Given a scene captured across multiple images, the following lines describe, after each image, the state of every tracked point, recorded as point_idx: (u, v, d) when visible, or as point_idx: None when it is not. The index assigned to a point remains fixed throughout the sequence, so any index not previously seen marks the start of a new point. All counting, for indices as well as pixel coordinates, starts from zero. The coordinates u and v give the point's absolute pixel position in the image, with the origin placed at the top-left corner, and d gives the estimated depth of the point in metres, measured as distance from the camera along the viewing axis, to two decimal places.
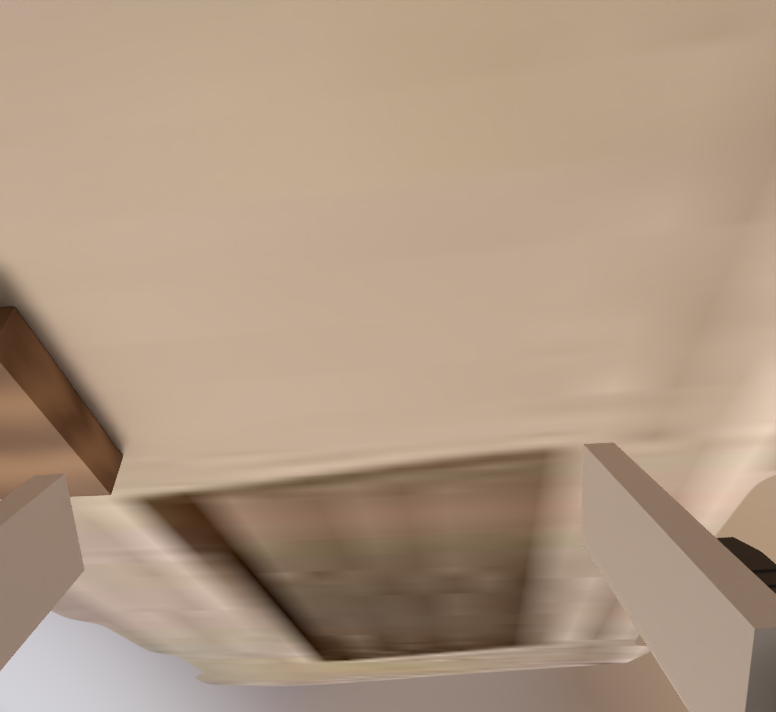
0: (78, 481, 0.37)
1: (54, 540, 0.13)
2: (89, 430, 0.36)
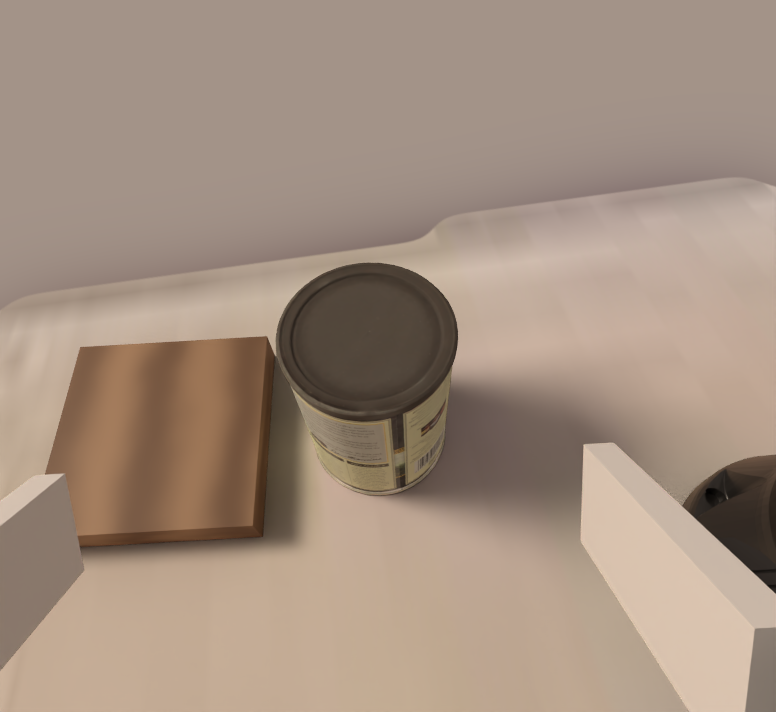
0: None
1: (54, 540, 0.13)
2: (115, 541, 0.39)
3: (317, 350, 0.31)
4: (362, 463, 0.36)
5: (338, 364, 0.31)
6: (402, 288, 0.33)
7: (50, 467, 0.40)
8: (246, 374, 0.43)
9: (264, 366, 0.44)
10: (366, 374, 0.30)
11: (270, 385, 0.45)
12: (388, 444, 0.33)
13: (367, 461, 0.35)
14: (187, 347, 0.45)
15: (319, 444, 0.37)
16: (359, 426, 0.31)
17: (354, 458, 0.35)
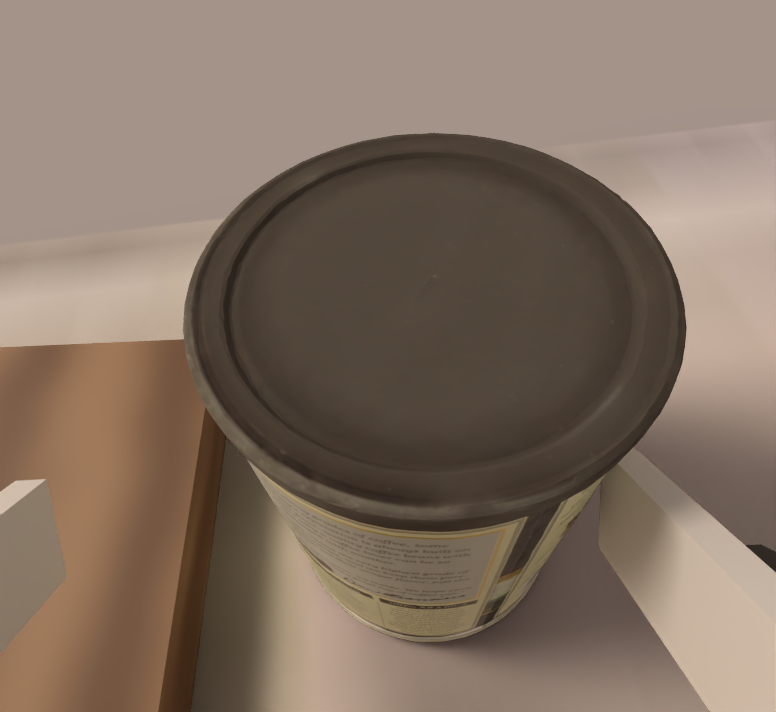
0: None
1: (35, 547, 0.13)
2: None
3: (299, 332, 0.11)
4: (418, 605, 0.15)
5: (359, 364, 0.11)
6: (499, 179, 0.14)
7: None
8: (171, 409, 0.23)
9: None
10: (444, 389, 0.10)
11: None
12: (493, 569, 0.13)
13: (431, 601, 0.15)
14: (70, 356, 0.25)
15: (314, 560, 0.16)
16: (432, 542, 0.10)
17: (400, 596, 0.15)
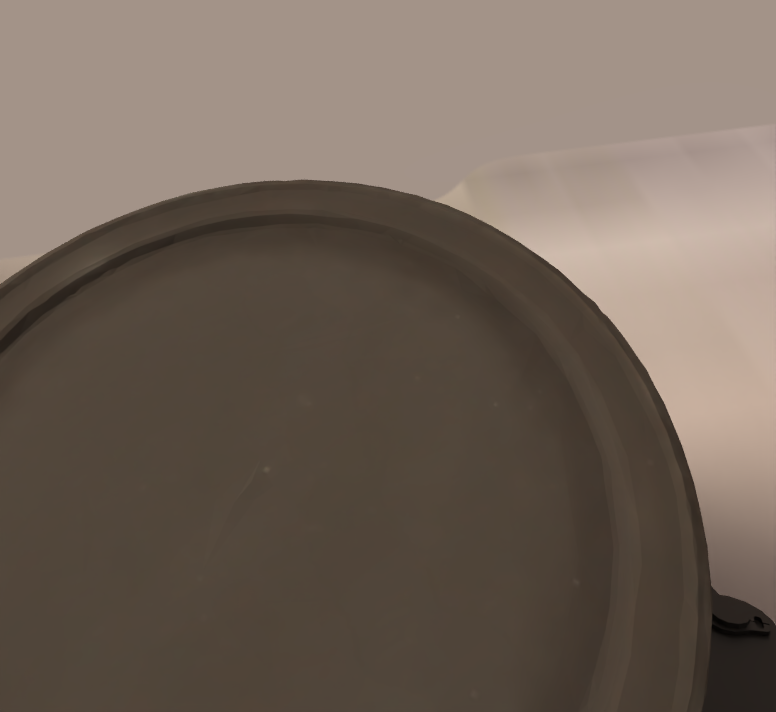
0: None
1: None
2: None
3: None
4: None
5: (91, 685, 0.06)
6: (402, 266, 0.08)
7: None
8: None
9: None
10: None
11: None
12: None
13: None
14: None
15: None
16: None
17: None
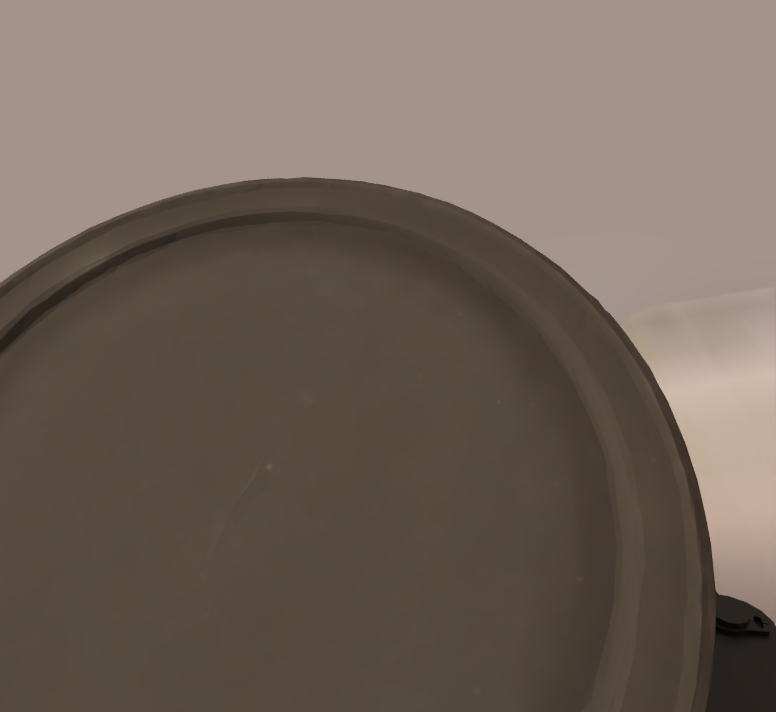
0: None
1: None
2: None
3: (1, 597, 0.06)
4: None
5: (93, 683, 0.06)
6: (404, 264, 0.08)
7: None
8: None
9: None
10: None
11: None
12: None
13: None
14: None
15: None
16: None
17: None
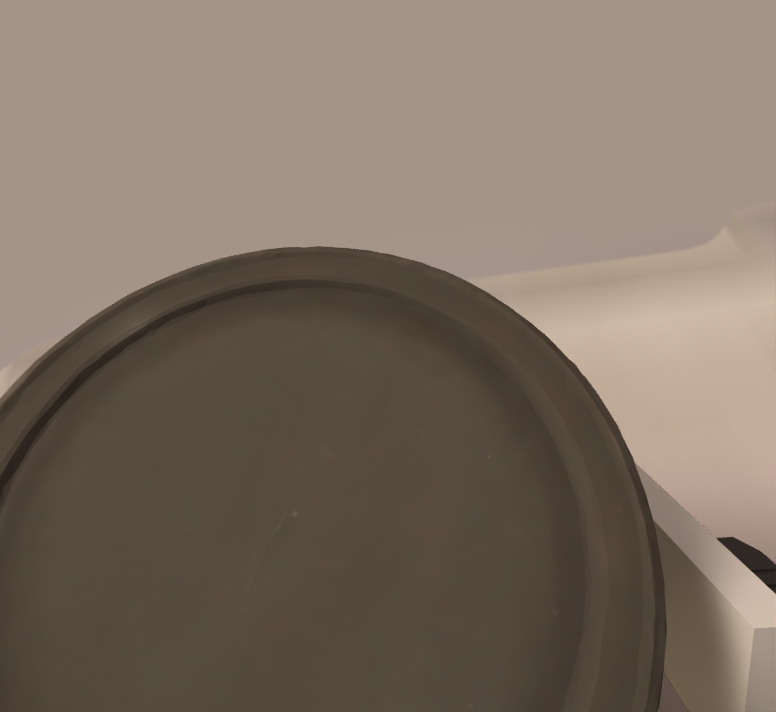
0: None
1: None
2: None
3: (73, 627, 0.07)
4: None
5: (155, 698, 0.07)
6: (408, 328, 0.10)
7: None
8: None
9: None
10: None
11: None
12: None
13: None
14: None
15: None
16: None
17: None
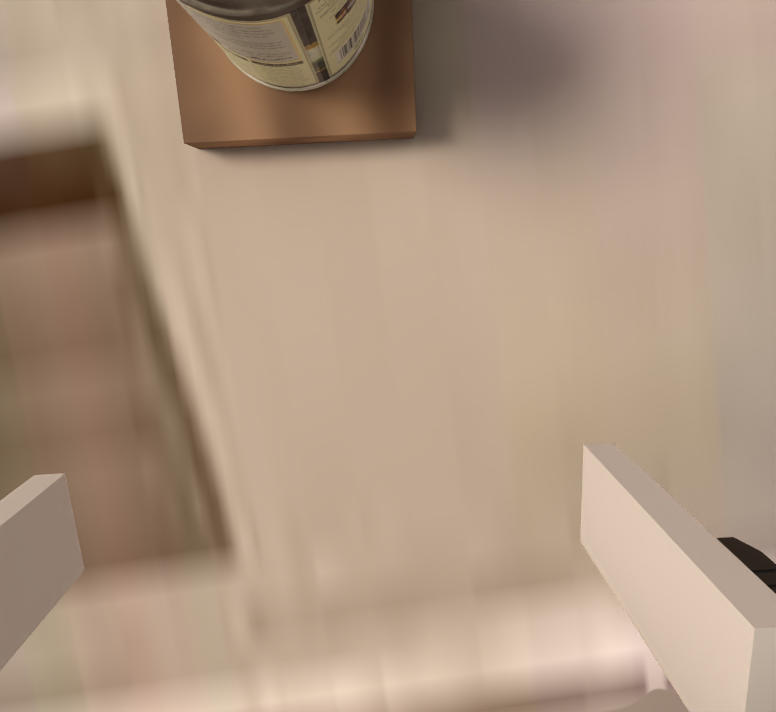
0: (212, 118, 0.36)
1: (54, 540, 0.13)
2: (267, 143, 0.38)
3: None
4: (270, 63, 0.29)
5: None
6: None
7: (177, 59, 0.35)
8: None
9: None
10: None
11: None
12: (295, 41, 0.27)
13: (276, 61, 0.29)
14: None
15: (213, 39, 0.29)
16: (252, 26, 0.24)
17: (258, 58, 0.29)
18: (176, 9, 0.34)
